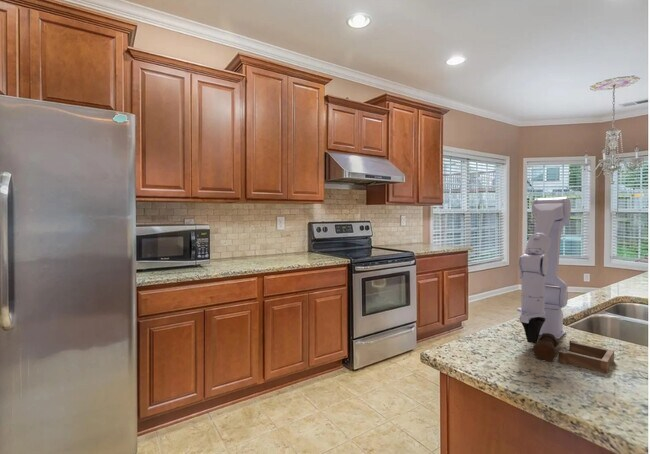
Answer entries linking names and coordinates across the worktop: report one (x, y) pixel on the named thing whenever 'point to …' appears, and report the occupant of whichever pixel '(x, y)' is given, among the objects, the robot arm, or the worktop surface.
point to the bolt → (546, 347)
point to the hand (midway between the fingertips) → (532, 342)
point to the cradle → (587, 356)
